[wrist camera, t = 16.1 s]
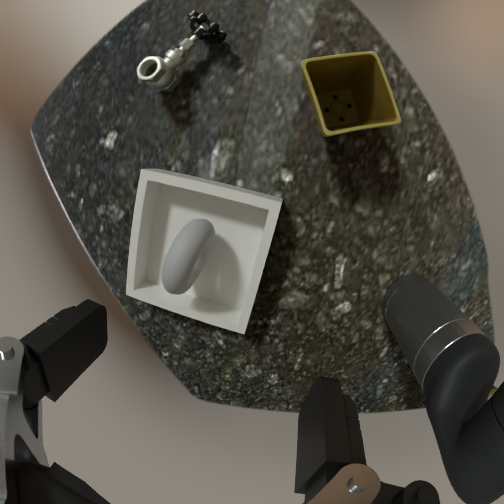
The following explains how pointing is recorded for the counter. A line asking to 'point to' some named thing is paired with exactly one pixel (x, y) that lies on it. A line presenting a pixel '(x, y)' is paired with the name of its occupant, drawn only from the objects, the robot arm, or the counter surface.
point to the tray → (221, 255)
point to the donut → (187, 256)
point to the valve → (177, 55)
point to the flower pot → (349, 92)
